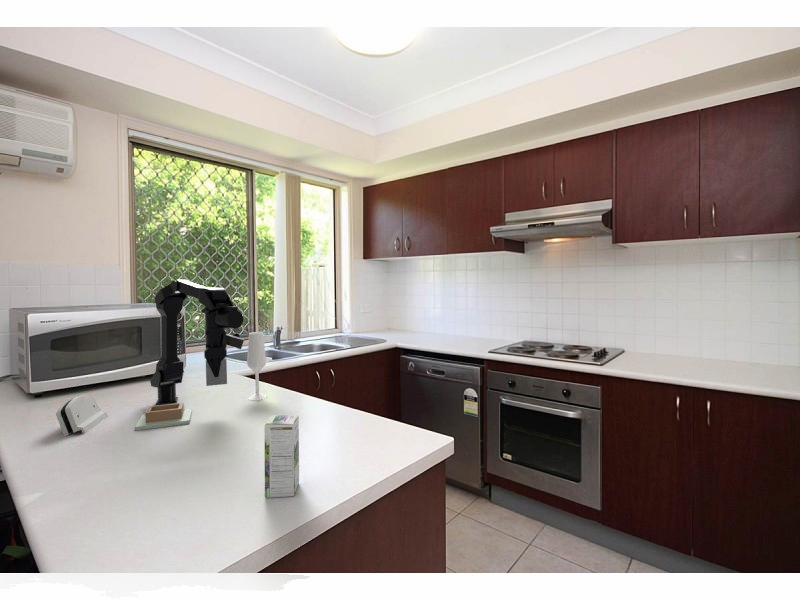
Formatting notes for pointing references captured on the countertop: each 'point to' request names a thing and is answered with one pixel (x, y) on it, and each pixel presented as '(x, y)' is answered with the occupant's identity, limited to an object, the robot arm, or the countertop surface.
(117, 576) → the countertop surface
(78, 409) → the hinge
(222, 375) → the brushed grey metal block
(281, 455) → the syrup box
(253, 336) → the champagne flute
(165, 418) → the post socket
